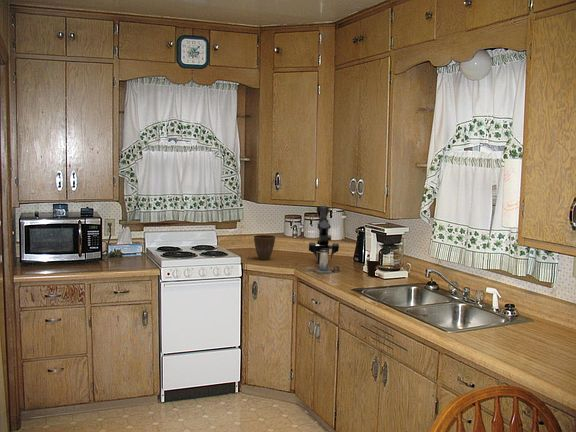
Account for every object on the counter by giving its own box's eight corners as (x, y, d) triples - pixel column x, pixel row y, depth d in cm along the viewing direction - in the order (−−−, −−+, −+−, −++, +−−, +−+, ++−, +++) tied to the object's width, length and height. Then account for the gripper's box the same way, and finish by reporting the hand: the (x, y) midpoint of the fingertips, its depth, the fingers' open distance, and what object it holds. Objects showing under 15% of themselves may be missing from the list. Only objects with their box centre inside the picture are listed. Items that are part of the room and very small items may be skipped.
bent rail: (331, 269, 382) (331, 264, 381) (337, 269, 382) (338, 264, 382) (334, 273, 370) (335, 268, 369) (342, 273, 370) (342, 268, 370)
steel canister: (320, 269, 375) (321, 249, 374) (328, 270, 373) (329, 249, 372) (317, 270, 370) (318, 250, 369) (326, 271, 368) (326, 250, 367)
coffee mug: (369, 277, 358) (369, 261, 357) (363, 274, 366) (364, 258, 366) (387, 277, 361) (387, 260, 360) (381, 274, 370) (381, 258, 369)
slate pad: (315, 270, 376) (315, 269, 376) (329, 270, 377) (329, 269, 377) (317, 273, 367) (317, 271, 367) (331, 273, 368) (331, 271, 368)
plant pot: (274, 261, 405) (275, 238, 404) (252, 260, 405) (253, 237, 404) (275, 257, 420) (275, 235, 419) (253, 257, 420) (254, 234, 419)
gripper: (309, 229, 374) (309, 250, 364) (339, 230, 374) (339, 250, 364) (308, 240, 383) (308, 260, 373) (338, 241, 382) (338, 261, 373)
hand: (323, 258), depth 370 cm, fingers open, 9 cm apart
